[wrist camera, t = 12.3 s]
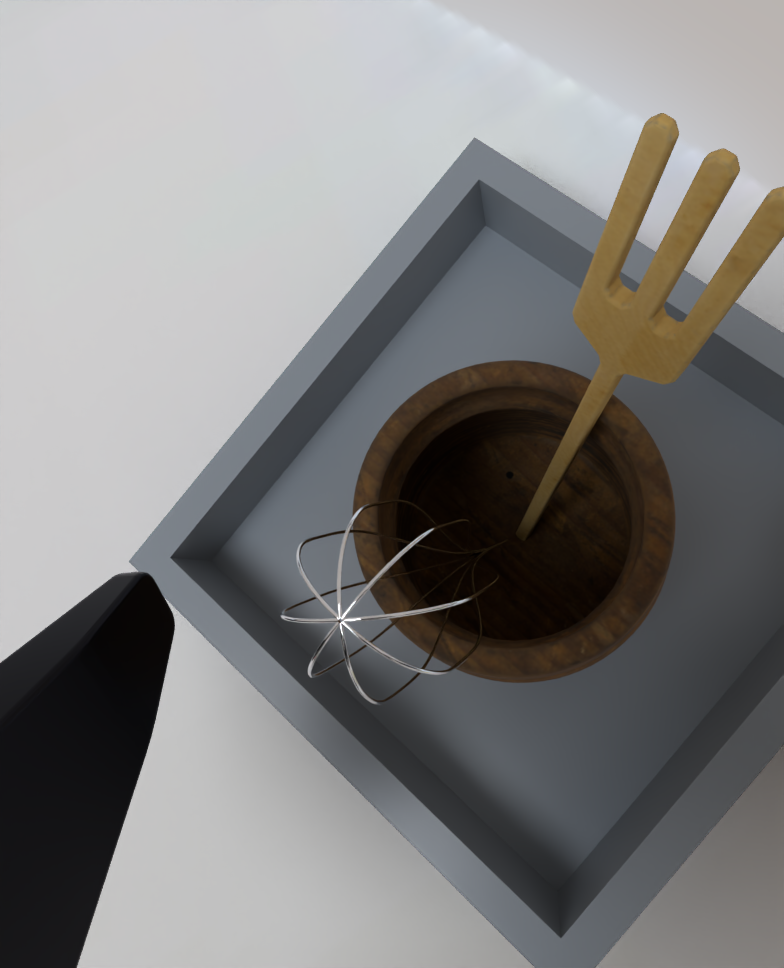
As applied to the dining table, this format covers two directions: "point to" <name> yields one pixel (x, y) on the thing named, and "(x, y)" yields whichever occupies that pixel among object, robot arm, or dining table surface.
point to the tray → (477, 701)
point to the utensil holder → (544, 465)
